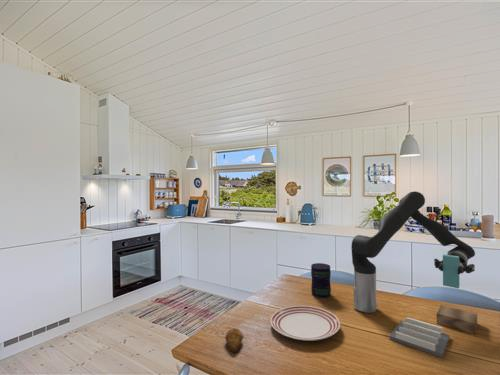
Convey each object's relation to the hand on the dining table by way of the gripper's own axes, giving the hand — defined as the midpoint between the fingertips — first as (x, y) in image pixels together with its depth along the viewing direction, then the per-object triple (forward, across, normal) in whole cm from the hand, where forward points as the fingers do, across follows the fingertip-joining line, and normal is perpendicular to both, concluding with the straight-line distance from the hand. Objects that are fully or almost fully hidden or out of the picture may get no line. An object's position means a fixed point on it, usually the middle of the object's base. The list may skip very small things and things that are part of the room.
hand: (450, 270), depth 106 cm
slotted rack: (+16, -7, +23) cm, 29 cm away
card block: (-3, 0, +7) cm, 7 cm away
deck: (-6, +1, +23) cm, 24 cm away
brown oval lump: (+63, -56, +24) cm, 88 cm away
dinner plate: (+37, -43, +24) cm, 61 cm away
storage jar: (+4, -54, +23) cm, 59 cm away
